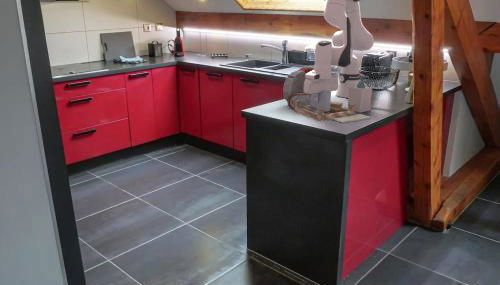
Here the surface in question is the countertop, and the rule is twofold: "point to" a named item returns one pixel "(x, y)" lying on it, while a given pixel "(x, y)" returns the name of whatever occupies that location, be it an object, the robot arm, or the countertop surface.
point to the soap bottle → (360, 96)
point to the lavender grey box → (322, 100)
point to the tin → (302, 97)
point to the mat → (351, 118)
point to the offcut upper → (335, 105)
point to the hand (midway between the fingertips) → (320, 100)
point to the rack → (319, 115)
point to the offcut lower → (333, 111)
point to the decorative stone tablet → (296, 81)
